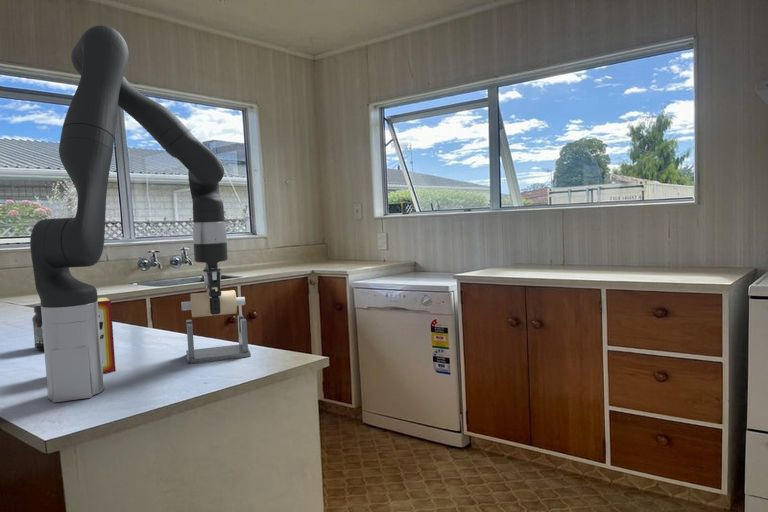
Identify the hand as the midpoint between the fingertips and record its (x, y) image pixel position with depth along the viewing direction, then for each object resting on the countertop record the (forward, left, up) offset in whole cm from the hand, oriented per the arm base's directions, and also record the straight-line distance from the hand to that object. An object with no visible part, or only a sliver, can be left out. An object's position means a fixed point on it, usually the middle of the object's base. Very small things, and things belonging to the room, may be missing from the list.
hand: (214, 311), depth 128 cm
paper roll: (0, 0, -1) cm, 1 cm away
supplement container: (+31, +39, -11) cm, 51 cm away
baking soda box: (-2, +27, -11) cm, 29 cm away
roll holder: (-1, 0, -10) cm, 11 cm away
